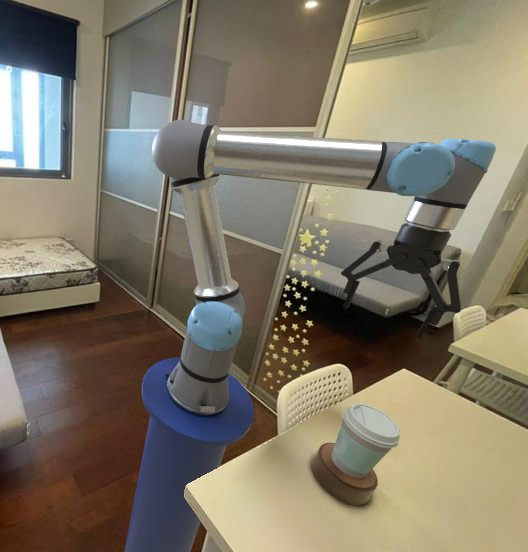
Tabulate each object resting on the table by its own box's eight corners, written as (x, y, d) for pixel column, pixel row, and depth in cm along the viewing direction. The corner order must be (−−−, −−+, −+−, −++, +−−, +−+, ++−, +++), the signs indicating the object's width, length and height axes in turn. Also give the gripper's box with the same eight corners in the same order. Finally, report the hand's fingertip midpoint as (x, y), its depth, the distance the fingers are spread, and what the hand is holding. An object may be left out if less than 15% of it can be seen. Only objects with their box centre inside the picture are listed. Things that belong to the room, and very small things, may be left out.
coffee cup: (337, 438, 67) (360, 395, 62) (382, 473, 61) (412, 428, 56) (314, 454, 63) (337, 409, 58) (361, 494, 56) (391, 447, 51)
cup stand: (304, 474, 63) (311, 459, 62) (321, 447, 70) (328, 433, 68) (361, 517, 57) (371, 502, 55) (374, 482, 64) (383, 468, 62)
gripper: (520, 243, 56) (456, 343, 64) (358, 210, 72) (324, 293, 80) (523, 249, 51) (454, 356, 59) (349, 212, 67) (314, 301, 76)
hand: (379, 320), depth 70 cm, fingers open, 13 cm apart
